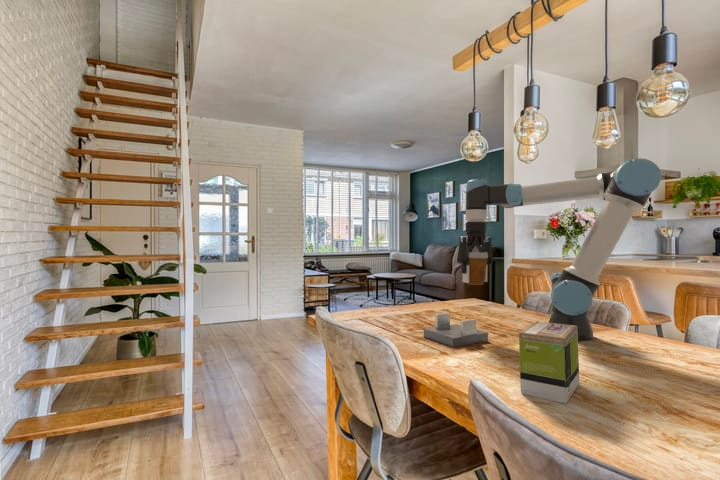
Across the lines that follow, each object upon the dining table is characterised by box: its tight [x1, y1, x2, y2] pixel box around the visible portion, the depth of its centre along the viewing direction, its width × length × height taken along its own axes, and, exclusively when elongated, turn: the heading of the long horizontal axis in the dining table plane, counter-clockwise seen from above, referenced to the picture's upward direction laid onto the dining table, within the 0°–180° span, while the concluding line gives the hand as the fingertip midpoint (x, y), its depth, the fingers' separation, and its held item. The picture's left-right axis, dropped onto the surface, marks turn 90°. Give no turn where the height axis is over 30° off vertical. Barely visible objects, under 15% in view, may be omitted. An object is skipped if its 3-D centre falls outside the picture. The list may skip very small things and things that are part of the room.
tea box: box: [518, 320, 580, 404], centre depth 93 cm, size 15×10×15 cm, turn 141°
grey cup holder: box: [423, 312, 489, 348], centre depth 140 cm, size 16×16×8 cm
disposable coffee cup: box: [465, 251, 488, 286], centre depth 145 cm, size 10×10×12 cm
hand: (474, 281), depth 145 cm, fingers closed on disposable coffee cup, 8 cm apart
